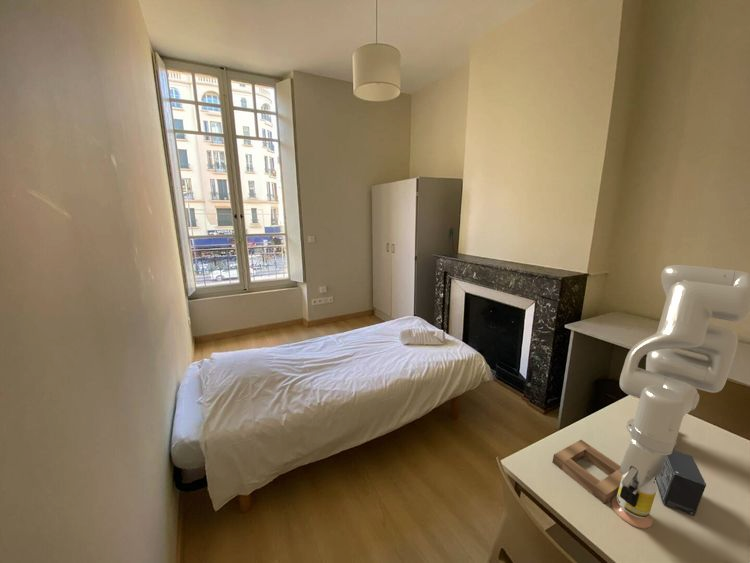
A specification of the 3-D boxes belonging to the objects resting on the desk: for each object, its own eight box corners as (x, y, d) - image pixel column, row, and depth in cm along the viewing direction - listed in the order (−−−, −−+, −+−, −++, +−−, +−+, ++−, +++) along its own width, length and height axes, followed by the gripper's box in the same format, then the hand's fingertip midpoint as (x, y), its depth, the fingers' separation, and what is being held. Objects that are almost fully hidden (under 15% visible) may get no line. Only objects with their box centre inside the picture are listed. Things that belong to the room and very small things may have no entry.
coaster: (621, 492, 82) (622, 491, 82) (658, 519, 75) (658, 517, 75) (604, 505, 79) (605, 503, 79) (641, 534, 72) (641, 532, 72)
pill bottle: (655, 522, 73) (667, 484, 70) (625, 516, 74) (636, 478, 71) (638, 497, 79) (649, 461, 76) (610, 492, 80) (620, 457, 77)
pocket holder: (579, 447, 97) (581, 439, 97) (631, 483, 85) (634, 475, 84) (552, 462, 92) (553, 454, 91) (604, 503, 79) (606, 495, 78)
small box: (697, 518, 75) (709, 486, 73) (662, 505, 79) (672, 473, 76) (683, 485, 84) (693, 455, 81) (653, 474, 87) (661, 445, 85)
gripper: (651, 416, 78) (636, 470, 82) (613, 438, 71) (599, 497, 75) (690, 435, 71) (671, 493, 76) (652, 463, 64) (634, 525, 69)
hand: (635, 494), depth 76 cm, fingers closed on pill bottle, 6 cm apart
